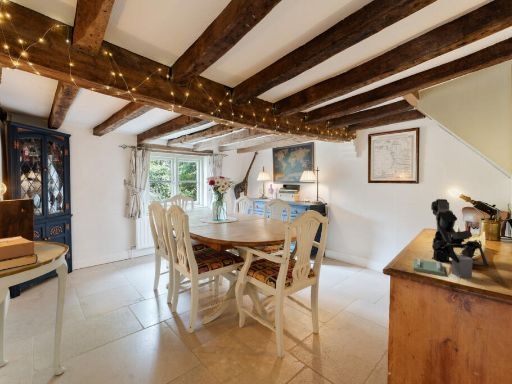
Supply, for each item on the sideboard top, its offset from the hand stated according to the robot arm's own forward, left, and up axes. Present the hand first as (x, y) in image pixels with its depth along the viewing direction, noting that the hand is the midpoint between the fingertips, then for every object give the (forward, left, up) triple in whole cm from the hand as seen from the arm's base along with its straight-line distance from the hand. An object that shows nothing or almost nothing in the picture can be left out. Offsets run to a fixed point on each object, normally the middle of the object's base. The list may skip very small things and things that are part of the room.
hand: (464, 262), depth 112 cm
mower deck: (+9, -11, -7) cm, 15 cm away
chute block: (0, -1, -7) cm, 7 cm away
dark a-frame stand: (-22, -17, -7) cm, 29 cm away
